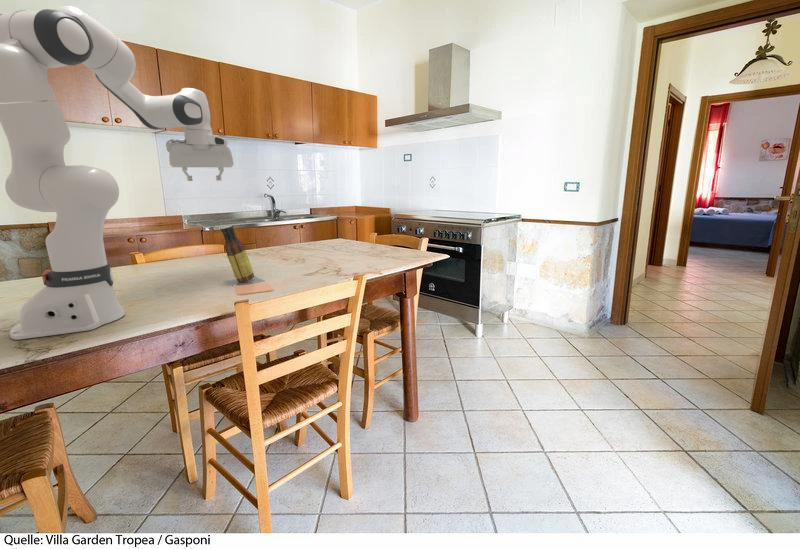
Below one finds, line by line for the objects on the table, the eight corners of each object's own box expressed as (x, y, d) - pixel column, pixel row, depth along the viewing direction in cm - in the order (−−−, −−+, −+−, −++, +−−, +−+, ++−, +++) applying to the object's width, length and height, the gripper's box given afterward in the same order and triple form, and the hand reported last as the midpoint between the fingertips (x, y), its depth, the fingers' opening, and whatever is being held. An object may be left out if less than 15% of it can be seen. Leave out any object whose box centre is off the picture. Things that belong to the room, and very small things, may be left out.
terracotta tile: (237, 297, 122) (237, 294, 122) (235, 288, 132) (234, 285, 131) (273, 292, 127) (273, 289, 126) (269, 284, 136) (268, 282, 136)
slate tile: (234, 289, 132) (233, 286, 132) (223, 283, 140) (223, 280, 140) (265, 283, 139) (265, 281, 139) (254, 278, 147) (253, 275, 147)
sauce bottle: (256, 274, 143) (240, 222, 135) (252, 281, 137) (235, 226, 129) (238, 277, 142) (221, 225, 135) (233, 284, 137) (215, 230, 129)
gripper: (165, 137, 128) (172, 181, 131) (232, 140, 139) (236, 180, 142) (164, 139, 133) (170, 181, 136) (228, 141, 144) (232, 180, 147)
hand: (204, 180), depth 139 cm, fingers open, 8 cm apart
